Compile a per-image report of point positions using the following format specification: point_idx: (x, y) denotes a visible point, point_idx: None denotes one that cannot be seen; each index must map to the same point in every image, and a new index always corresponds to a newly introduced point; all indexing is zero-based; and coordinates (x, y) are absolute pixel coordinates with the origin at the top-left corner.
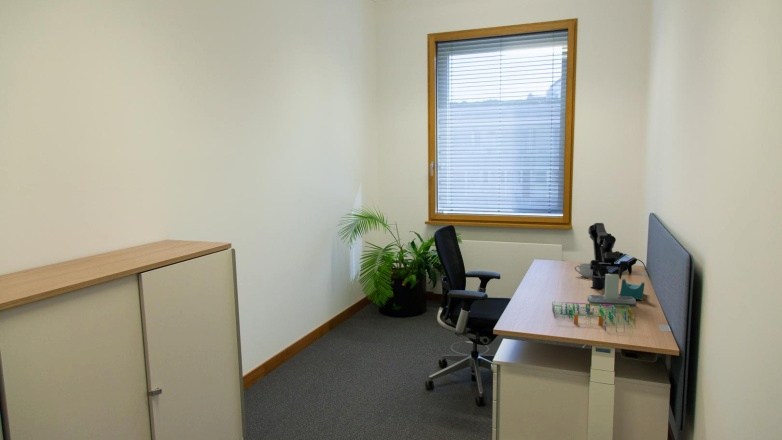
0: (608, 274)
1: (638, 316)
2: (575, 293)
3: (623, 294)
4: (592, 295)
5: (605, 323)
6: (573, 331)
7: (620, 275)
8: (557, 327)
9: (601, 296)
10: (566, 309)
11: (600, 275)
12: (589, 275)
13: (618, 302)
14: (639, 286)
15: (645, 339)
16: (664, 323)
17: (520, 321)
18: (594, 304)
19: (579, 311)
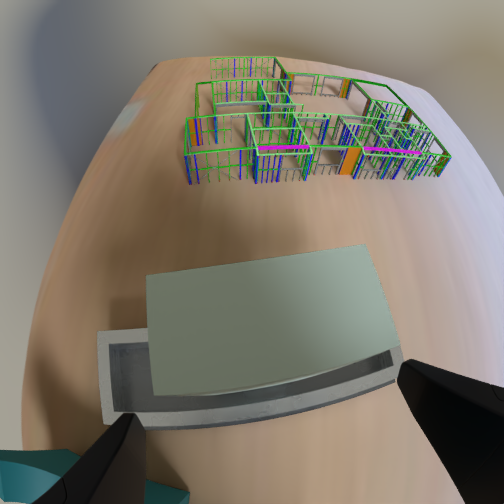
0: (346, 310)
1: (155, 173)
2: (438, 488)
3: (158, 495)
4: (380, 370)
5: (275, 62)
6: (331, 74)
7: (111, 445)
8: (364, 86)
9: (322, 388)
10: (384, 101)
11: (439, 369)
12: None
13: None
14: (32, 485)
15: (199, 66)
16: (105, 141)
17: (430, 110)
18: (332, 148)
19: (361, 129)
